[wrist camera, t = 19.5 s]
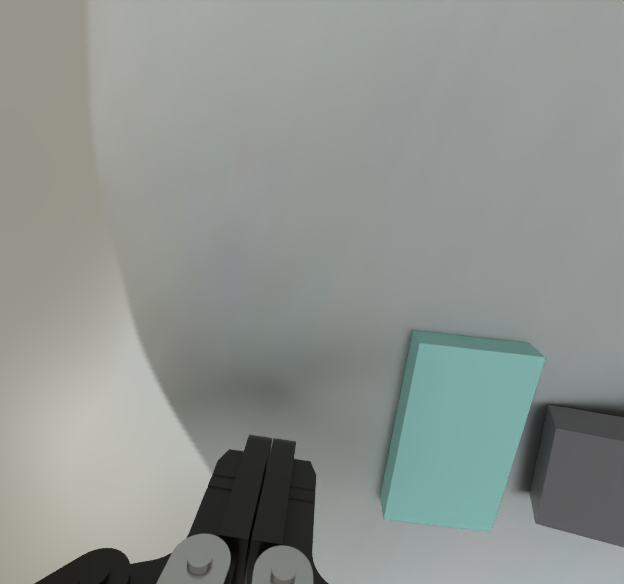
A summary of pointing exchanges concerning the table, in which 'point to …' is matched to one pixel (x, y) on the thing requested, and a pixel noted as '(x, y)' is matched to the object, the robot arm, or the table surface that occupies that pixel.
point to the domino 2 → (581, 474)
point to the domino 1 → (457, 429)
